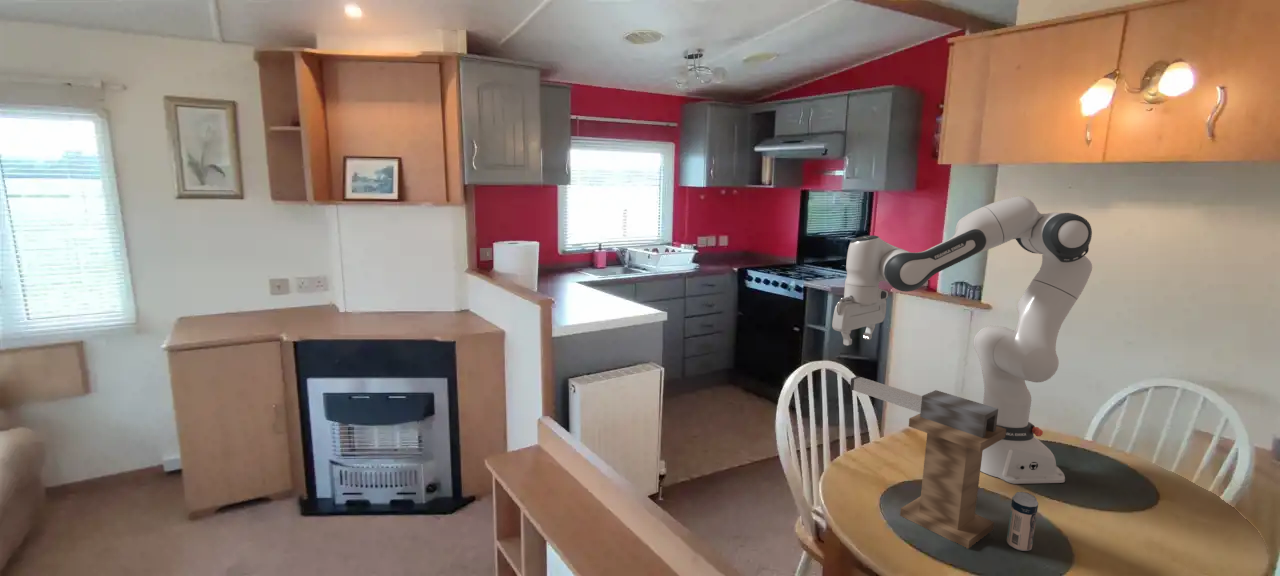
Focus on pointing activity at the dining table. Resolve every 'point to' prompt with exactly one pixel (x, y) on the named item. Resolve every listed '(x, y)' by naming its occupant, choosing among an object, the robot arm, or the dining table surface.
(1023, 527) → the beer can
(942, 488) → the stand
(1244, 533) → the dining table surface
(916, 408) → the spindle bar
